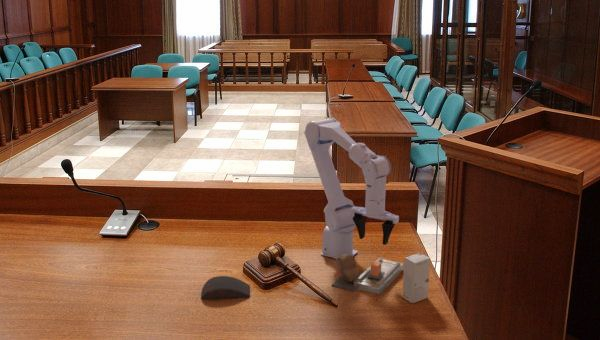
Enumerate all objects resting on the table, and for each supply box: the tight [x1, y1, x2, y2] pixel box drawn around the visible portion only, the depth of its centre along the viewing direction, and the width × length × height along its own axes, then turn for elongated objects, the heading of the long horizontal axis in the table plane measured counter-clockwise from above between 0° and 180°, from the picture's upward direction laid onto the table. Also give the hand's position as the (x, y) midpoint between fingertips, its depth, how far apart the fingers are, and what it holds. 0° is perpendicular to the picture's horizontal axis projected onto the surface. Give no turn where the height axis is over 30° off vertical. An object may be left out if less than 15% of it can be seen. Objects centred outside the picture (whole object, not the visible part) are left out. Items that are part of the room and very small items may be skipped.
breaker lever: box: [367, 260, 385, 280], centre depth 177 cm, size 4×4×4 cm
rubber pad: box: [331, 275, 358, 293], centre depth 178 cm, size 7×8×1 cm
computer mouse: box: [200, 275, 251, 301], centre depth 172 cm, size 8×14×4 cm, turn 95°
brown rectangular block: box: [335, 254, 360, 282], centre depth 177 cm, size 4×4×7 cm
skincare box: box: [402, 252, 431, 304], centre depth 168 cm, size 6×4×12 cm
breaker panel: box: [354, 257, 404, 296], centre depth 180 cm, size 8×18×3 cm, turn 149°
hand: (373, 240), depth 182 cm, fingers open, 7 cm apart
